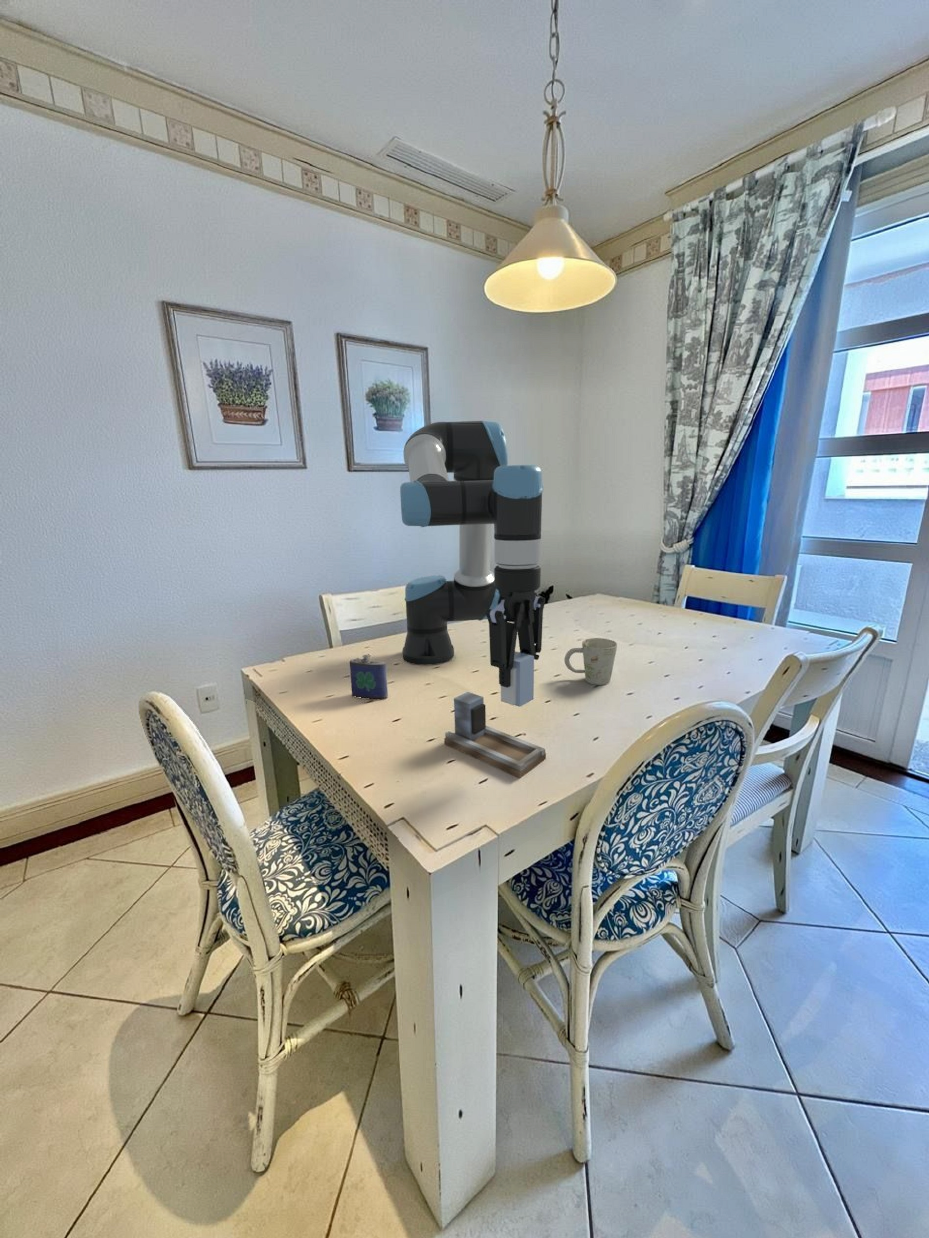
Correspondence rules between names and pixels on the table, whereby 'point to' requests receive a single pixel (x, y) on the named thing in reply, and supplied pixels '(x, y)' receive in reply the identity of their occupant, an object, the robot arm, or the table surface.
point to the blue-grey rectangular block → (523, 678)
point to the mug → (595, 659)
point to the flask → (368, 678)
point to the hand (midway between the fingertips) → (516, 697)
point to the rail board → (490, 739)
